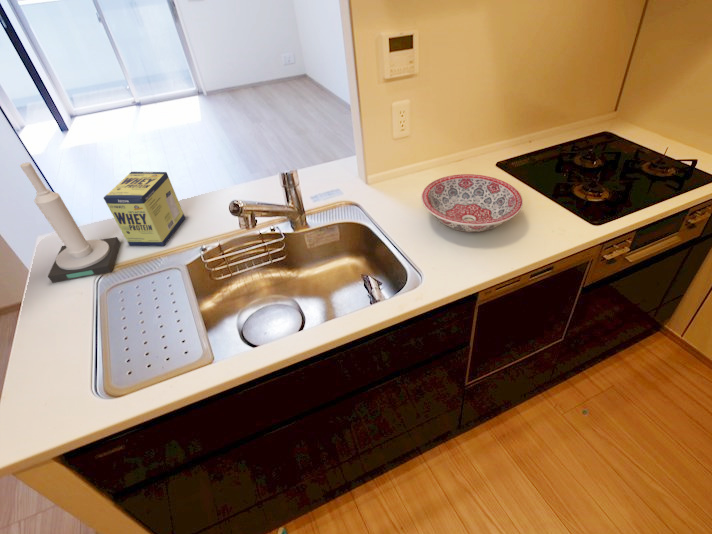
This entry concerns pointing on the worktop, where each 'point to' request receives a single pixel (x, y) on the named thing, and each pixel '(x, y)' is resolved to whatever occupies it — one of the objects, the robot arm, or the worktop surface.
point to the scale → (85, 261)
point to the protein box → (145, 208)
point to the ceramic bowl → (471, 201)
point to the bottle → (58, 215)
